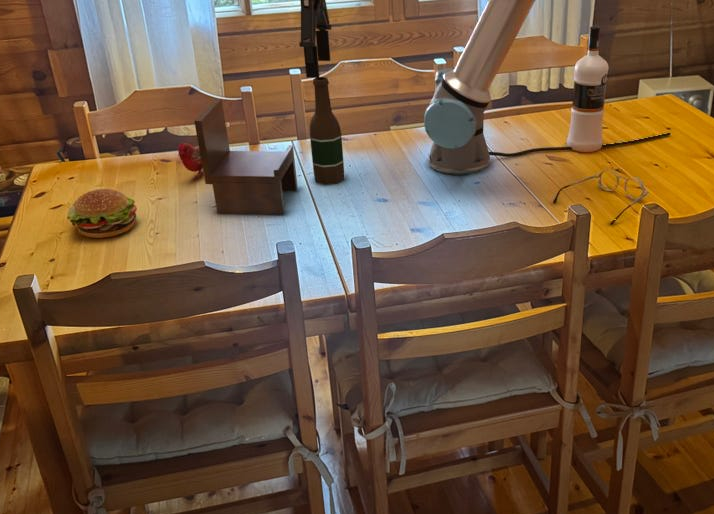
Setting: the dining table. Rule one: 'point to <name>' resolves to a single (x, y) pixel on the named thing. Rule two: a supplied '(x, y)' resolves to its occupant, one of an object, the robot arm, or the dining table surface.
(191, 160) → the decorative bird figurine
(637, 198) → the eyeglasses
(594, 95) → the vodka
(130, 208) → the food
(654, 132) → the dining table surface
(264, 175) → the shelf stand
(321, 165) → the beer bottle
